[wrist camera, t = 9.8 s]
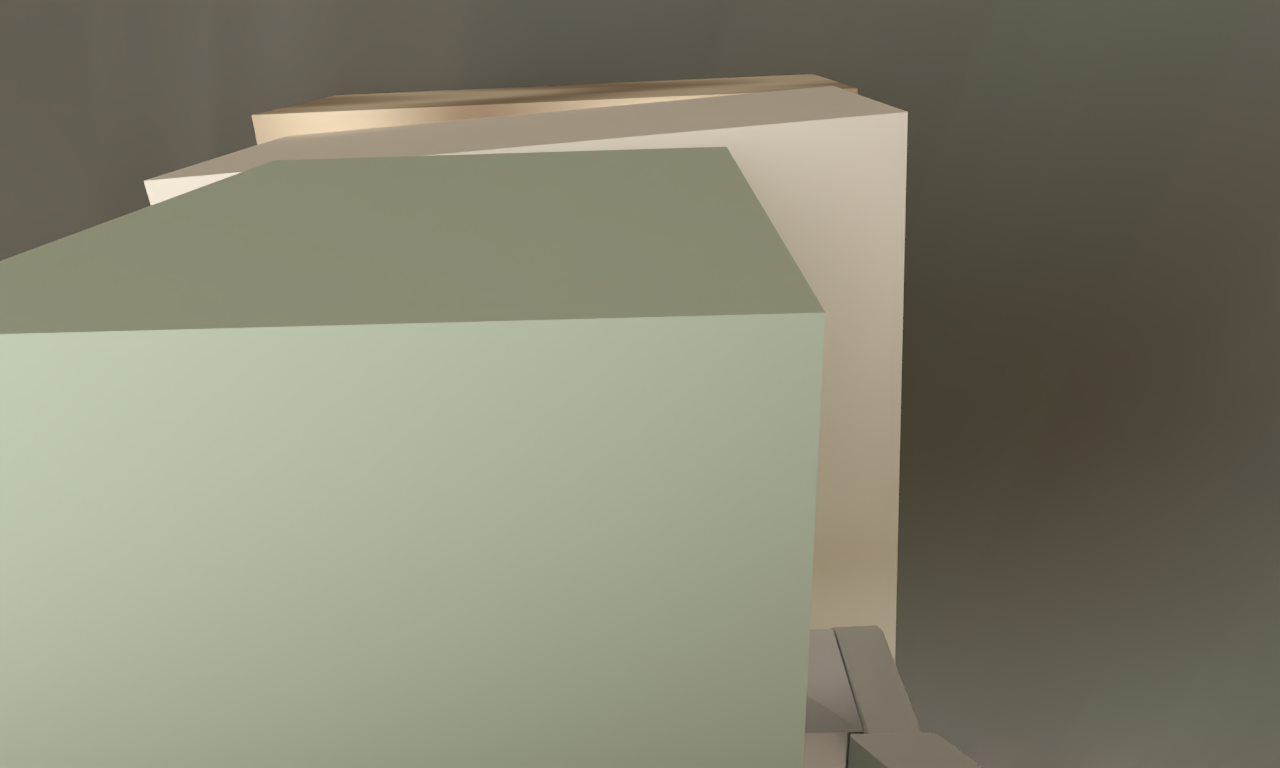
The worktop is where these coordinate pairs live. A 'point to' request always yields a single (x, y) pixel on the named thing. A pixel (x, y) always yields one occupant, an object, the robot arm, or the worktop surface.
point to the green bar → (413, 471)
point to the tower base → (502, 102)
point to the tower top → (815, 237)
